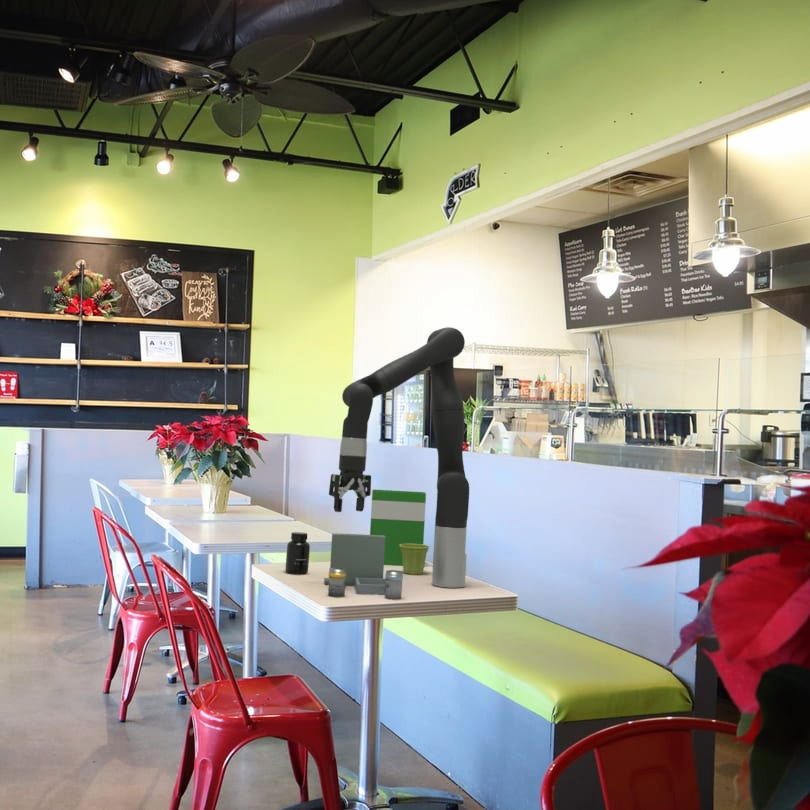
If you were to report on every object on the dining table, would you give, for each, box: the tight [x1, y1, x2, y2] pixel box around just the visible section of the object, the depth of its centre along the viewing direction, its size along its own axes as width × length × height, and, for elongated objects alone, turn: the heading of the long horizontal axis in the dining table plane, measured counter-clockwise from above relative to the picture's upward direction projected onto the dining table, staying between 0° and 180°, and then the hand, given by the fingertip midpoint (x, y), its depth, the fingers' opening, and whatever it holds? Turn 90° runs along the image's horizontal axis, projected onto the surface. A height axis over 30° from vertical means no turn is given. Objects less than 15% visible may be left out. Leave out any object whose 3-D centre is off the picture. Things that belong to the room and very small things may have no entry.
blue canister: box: [384, 569, 404, 601], centre depth 244 cm, size 5×5×7 cm
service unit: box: [323, 532, 385, 587], centre depth 261 cm, size 18×5×14 cm, turn 96°
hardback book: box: [369, 489, 427, 567], centre depth 305 cm, size 18×7×24 cm, turn 91°
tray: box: [354, 578, 386, 596], centre depth 253 cm, size 11×11×2 cm
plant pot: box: [399, 544, 430, 575], centre depth 287 cm, size 9×9×9 cm
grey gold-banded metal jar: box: [327, 567, 346, 598], centre depth 243 cm, size 5×5×7 cm
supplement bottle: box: [285, 531, 311, 575], centre depth 276 cm, size 7×7×12 cm
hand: (348, 511), depth 259 cm, fingers open, 8 cm apart
